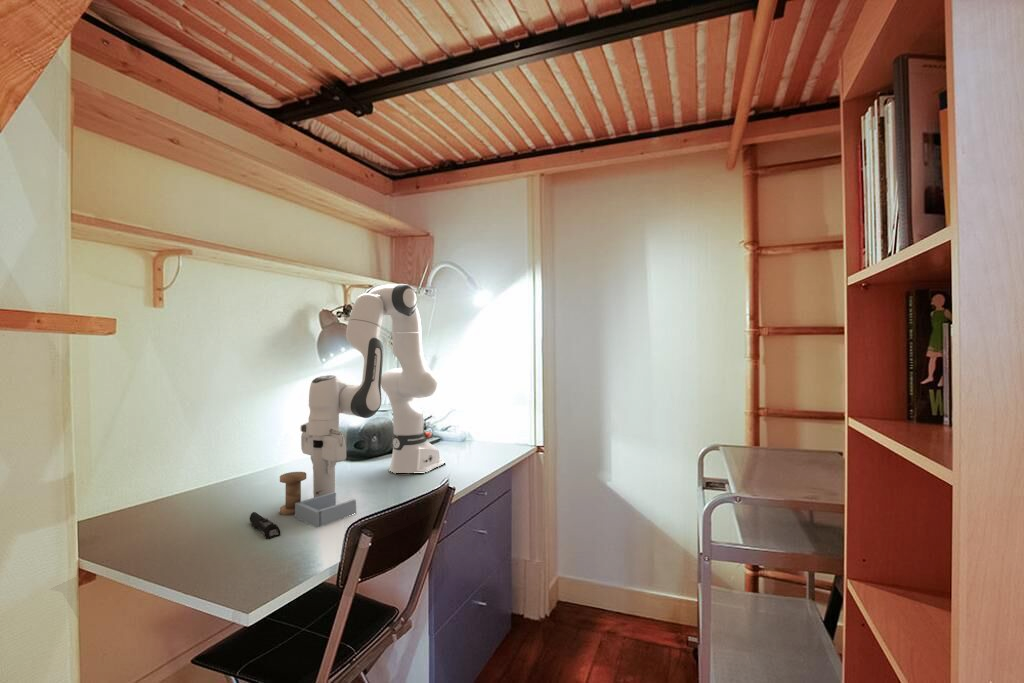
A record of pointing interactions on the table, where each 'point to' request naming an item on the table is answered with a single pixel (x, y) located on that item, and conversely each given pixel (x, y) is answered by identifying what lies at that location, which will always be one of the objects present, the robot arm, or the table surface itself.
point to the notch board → (323, 509)
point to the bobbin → (292, 491)
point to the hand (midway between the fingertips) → (323, 471)
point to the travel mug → (321, 472)
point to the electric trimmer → (264, 526)
